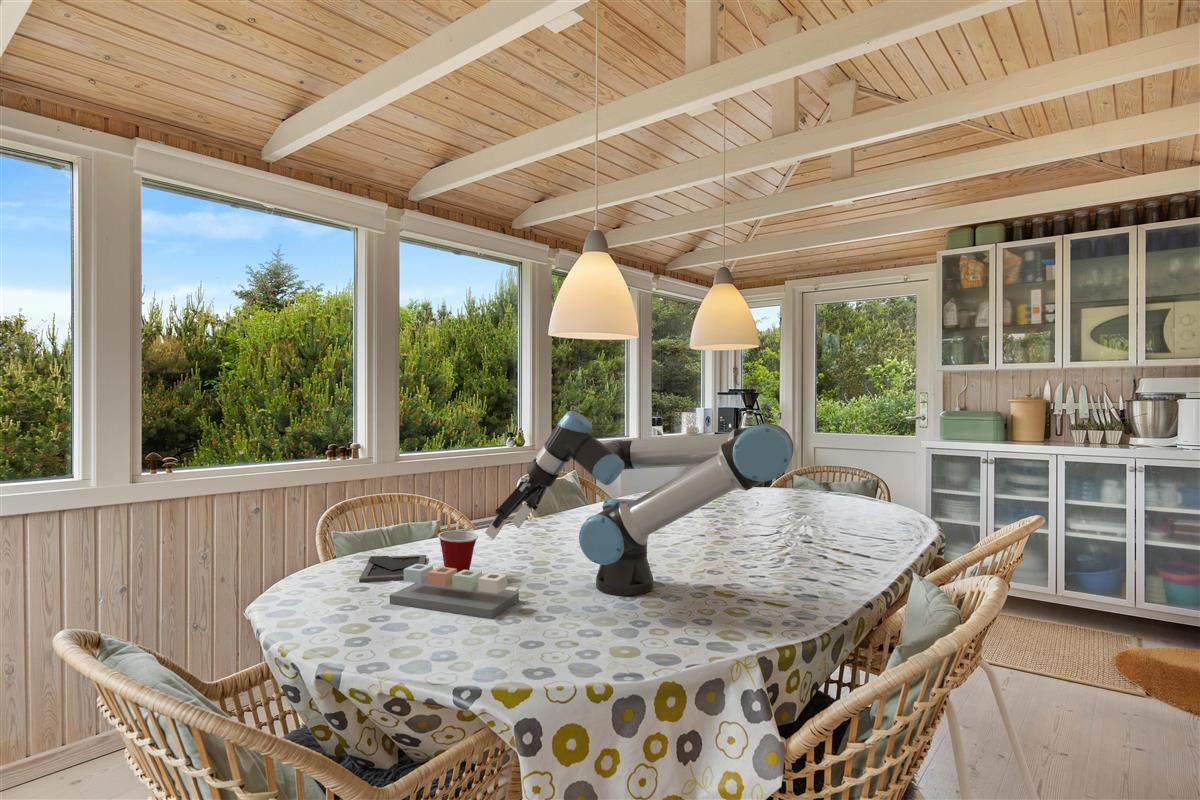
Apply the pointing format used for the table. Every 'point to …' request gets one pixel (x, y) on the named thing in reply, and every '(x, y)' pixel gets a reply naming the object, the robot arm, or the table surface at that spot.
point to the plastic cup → (457, 548)
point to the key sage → (466, 579)
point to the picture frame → (389, 567)
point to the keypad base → (456, 599)
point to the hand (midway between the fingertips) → (502, 530)
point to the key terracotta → (441, 576)
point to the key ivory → (492, 583)
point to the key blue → (417, 573)
